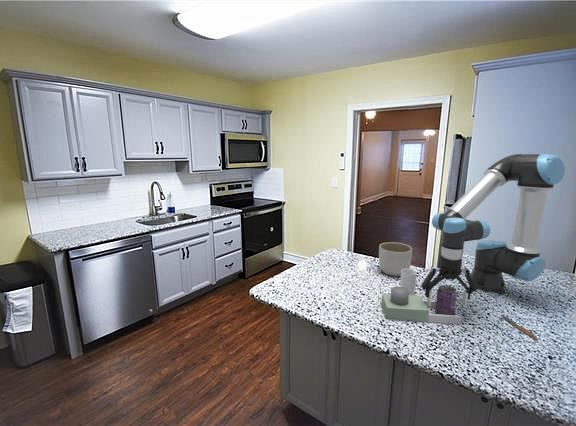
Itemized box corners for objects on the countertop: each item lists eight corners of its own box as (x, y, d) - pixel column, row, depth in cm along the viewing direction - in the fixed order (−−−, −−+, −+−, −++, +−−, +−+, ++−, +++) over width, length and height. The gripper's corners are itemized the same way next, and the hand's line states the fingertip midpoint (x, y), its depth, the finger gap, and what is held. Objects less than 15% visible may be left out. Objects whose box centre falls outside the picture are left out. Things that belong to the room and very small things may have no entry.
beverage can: (452, 311, 121) (455, 285, 119) (455, 321, 115) (459, 293, 112) (433, 309, 124) (436, 283, 121) (436, 318, 117) (439, 291, 114)
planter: (383, 264, 172) (384, 240, 169) (413, 270, 162) (415, 245, 159) (373, 274, 159) (374, 248, 155) (405, 282, 149) (407, 254, 146)
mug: (416, 299, 132) (418, 274, 129) (401, 298, 133) (403, 274, 130) (410, 288, 142) (412, 266, 139) (396, 288, 143) (397, 265, 140)
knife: (495, 313, 118) (501, 313, 118) (494, 315, 118) (501, 315, 119) (533, 339, 102) (540, 338, 102) (532, 341, 102) (540, 341, 102)
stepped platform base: (448, 307, 124) (450, 286, 122) (460, 324, 113) (463, 301, 110) (381, 303, 129) (382, 282, 127) (386, 319, 117) (387, 296, 115)
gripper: (480, 254, 115) (474, 302, 120) (415, 252, 119) (412, 298, 124) (490, 261, 108) (483, 312, 113) (420, 259, 112) (416, 308, 116)
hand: (446, 305), depth 118 cm, fingers open, 13 cm apart
